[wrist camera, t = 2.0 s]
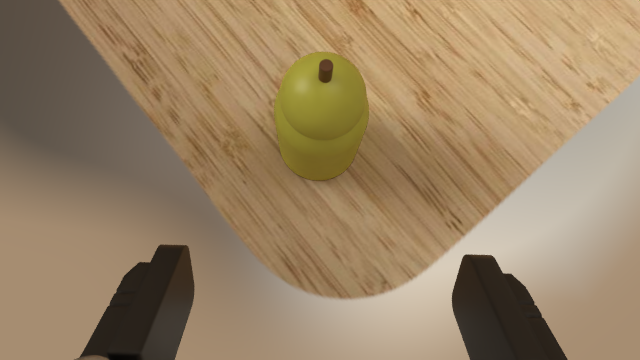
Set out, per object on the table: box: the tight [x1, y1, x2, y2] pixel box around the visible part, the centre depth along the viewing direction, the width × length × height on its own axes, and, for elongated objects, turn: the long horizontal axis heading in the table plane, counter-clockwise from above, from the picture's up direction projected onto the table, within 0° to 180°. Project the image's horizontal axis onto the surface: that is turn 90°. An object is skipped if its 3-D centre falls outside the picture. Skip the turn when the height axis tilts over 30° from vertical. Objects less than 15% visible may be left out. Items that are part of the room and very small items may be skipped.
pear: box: [274, 52, 369, 180], centre depth 22 cm, size 5×5×10 cm
